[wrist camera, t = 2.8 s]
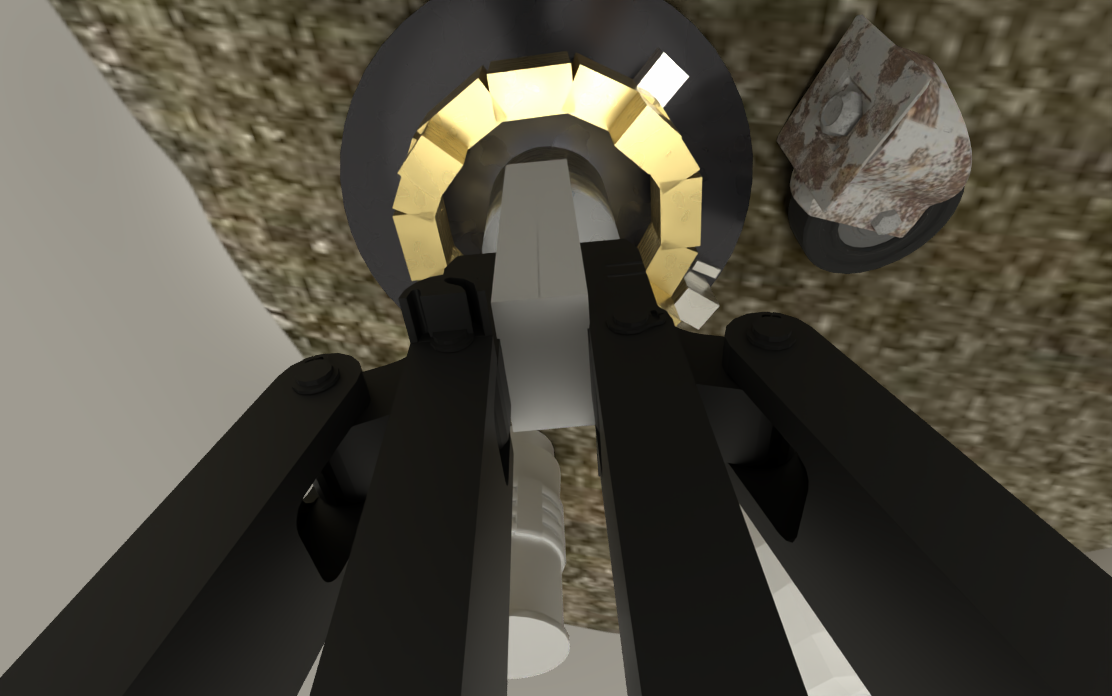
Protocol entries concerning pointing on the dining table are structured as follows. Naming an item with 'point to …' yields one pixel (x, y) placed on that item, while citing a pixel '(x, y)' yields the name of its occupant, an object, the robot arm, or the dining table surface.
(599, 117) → the ring nut
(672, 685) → the robot arm
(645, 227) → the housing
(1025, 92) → the dining table surface
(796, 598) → the pitcher
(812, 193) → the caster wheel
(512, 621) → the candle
